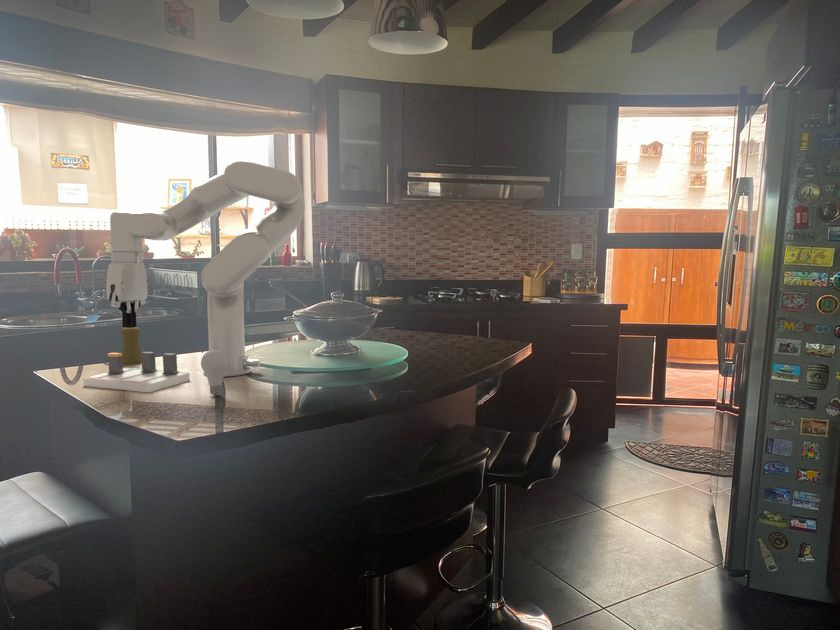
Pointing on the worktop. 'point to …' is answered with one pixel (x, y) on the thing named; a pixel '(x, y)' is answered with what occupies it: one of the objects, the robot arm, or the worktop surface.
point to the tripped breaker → (115, 363)
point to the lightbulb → (214, 369)
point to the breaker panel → (136, 380)
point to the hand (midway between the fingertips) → (129, 327)
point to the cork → (131, 346)
